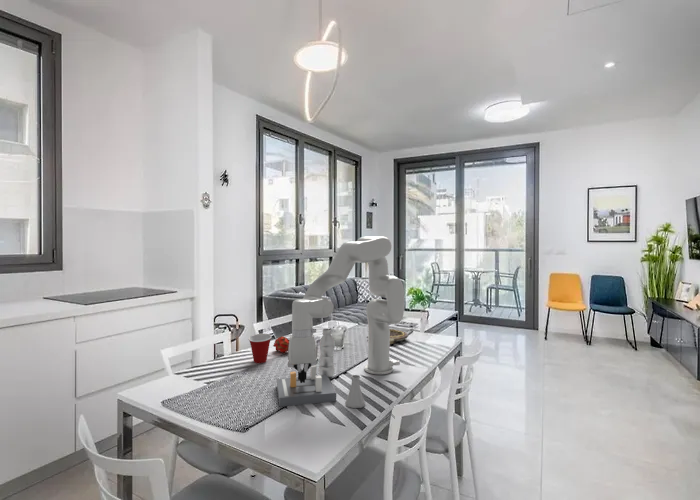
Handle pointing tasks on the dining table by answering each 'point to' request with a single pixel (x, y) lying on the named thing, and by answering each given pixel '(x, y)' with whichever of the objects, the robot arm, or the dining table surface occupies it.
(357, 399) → the flask
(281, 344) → the dragon fruit
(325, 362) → the plastic bottle
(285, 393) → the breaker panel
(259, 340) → the plastic cup
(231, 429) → the dining table surface
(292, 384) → the block
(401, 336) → the pie
